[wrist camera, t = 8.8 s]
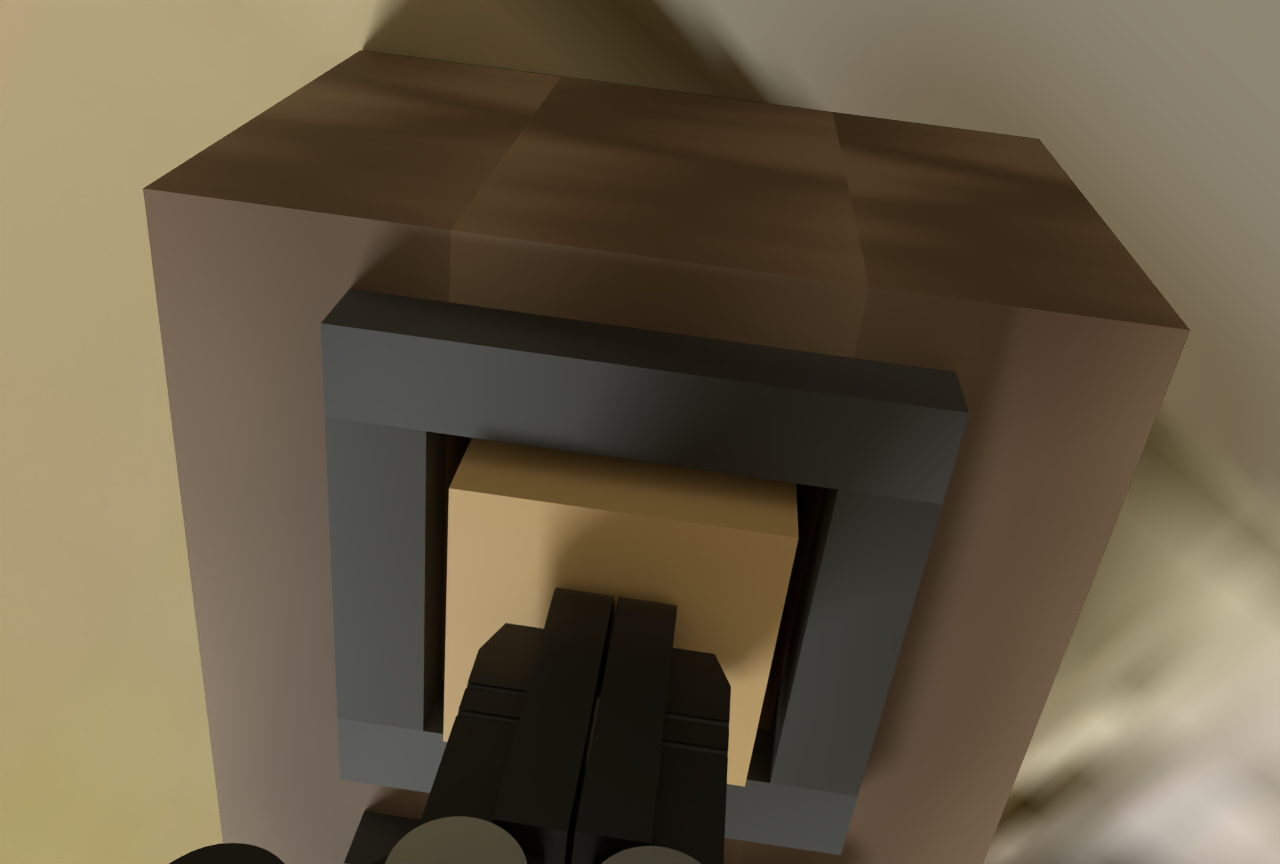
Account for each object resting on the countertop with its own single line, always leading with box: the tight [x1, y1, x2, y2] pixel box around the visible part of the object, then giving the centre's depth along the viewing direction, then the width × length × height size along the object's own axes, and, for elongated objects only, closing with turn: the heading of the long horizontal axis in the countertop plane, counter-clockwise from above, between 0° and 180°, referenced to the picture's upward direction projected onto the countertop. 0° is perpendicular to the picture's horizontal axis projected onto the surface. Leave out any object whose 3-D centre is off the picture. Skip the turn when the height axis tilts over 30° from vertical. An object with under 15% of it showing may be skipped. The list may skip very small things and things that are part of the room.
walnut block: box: [143, 50, 1190, 864], centre depth 20 cm, size 12×18×9 cm, turn 174°
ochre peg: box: [443, 438, 799, 787], centre depth 17 cm, size 4×4×8 cm
